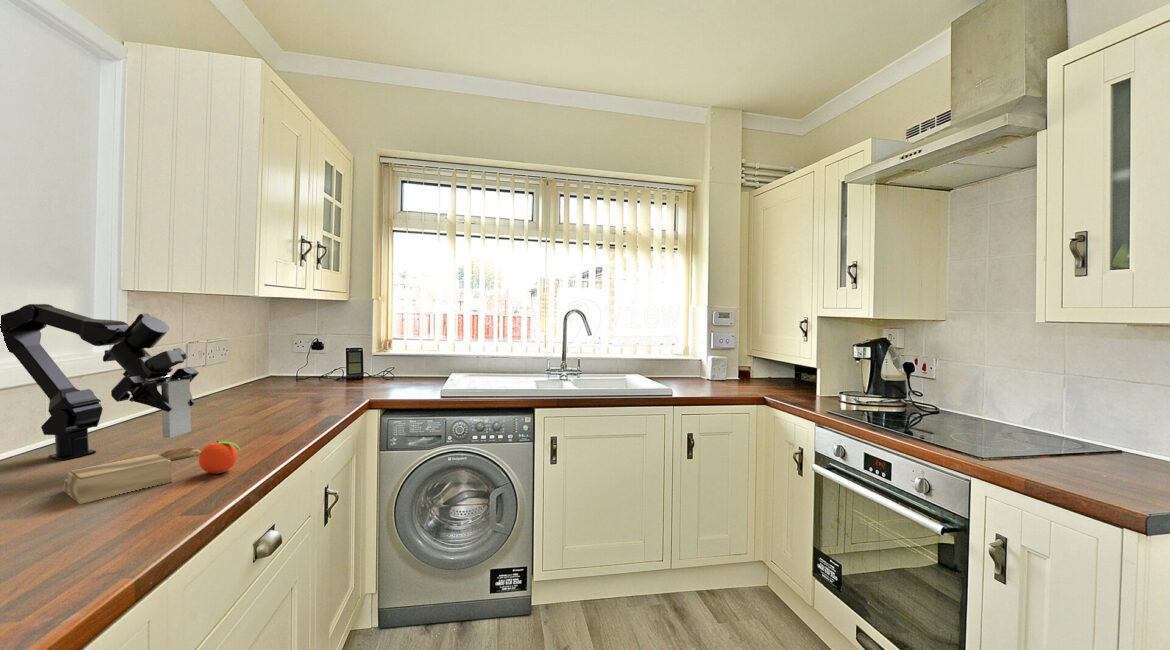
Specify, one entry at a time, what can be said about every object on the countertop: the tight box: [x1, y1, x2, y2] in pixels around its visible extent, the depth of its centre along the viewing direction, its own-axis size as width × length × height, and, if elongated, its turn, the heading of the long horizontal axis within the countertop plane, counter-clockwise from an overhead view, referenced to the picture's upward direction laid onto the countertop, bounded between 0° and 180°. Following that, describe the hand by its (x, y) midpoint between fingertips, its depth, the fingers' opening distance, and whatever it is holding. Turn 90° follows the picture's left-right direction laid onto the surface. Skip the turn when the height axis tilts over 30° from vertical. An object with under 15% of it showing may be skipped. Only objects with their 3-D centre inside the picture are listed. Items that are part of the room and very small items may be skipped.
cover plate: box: [160, 379, 192, 439], centre depth 123 cm, size 2×6×13 cm, turn 177°
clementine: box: [198, 440, 242, 475], centre depth 112 cm, size 8×7×7 cm
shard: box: [159, 445, 201, 462], centre depth 123 cm, size 11×8×2 cm
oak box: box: [63, 453, 173, 505], centre depth 104 cm, size 12×14×5 cm
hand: (181, 407), depth 122 cm, fingers closed on cover plate, 6 cm apart
